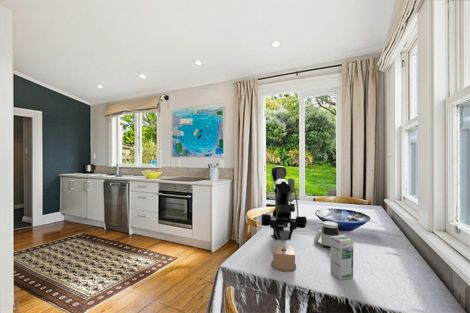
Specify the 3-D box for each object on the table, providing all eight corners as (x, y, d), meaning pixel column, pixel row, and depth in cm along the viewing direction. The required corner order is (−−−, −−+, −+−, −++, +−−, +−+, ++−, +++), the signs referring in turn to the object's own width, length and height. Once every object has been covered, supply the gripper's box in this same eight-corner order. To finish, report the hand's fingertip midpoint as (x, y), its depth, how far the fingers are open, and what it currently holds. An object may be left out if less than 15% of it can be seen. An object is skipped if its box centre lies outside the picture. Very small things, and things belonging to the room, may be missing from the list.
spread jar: (340, 251, 109) (341, 226, 109) (315, 248, 112) (316, 225, 111) (334, 241, 121) (335, 220, 121) (312, 240, 123) (312, 218, 123)
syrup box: (340, 280, 83) (341, 240, 83) (329, 272, 89) (330, 235, 89) (353, 278, 85) (354, 239, 85) (341, 270, 91) (342, 234, 90)
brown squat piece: (270, 259, 100) (271, 244, 99) (294, 260, 98) (294, 246, 98) (271, 270, 90) (271, 254, 90) (297, 272, 88) (298, 256, 88)
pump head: (278, 248, 96) (278, 229, 96) (288, 249, 96) (288, 230, 96) (279, 255, 90) (279, 234, 90) (289, 255, 89) (290, 235, 89)
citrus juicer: (281, 220, 160) (282, 177, 159) (294, 219, 163) (294, 177, 162) (290, 225, 149) (290, 179, 149) (303, 224, 152) (304, 178, 152)
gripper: (261, 195, 99) (261, 229, 88) (306, 197, 96) (311, 231, 86) (261, 209, 107) (261, 241, 96) (303, 211, 104) (307, 244, 93)
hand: (284, 239), depth 92 cm, fingers closed on pump head, 4 cm apart
